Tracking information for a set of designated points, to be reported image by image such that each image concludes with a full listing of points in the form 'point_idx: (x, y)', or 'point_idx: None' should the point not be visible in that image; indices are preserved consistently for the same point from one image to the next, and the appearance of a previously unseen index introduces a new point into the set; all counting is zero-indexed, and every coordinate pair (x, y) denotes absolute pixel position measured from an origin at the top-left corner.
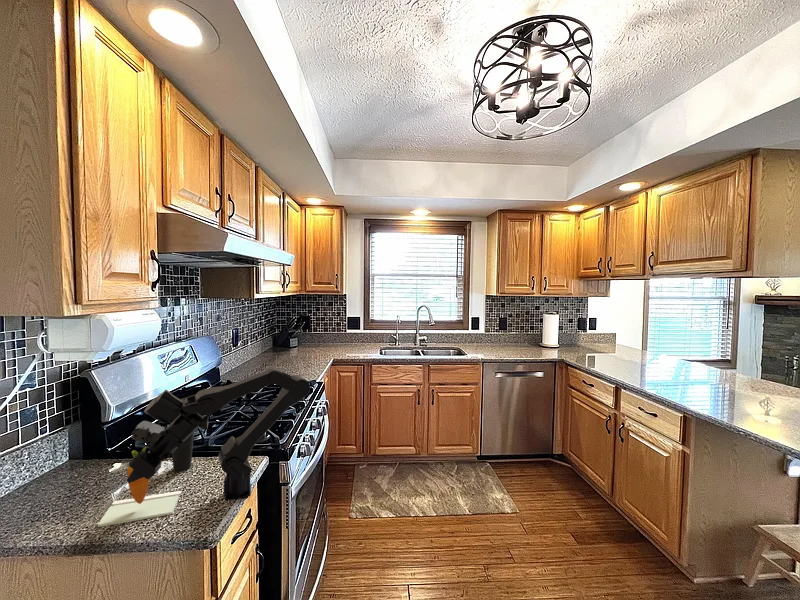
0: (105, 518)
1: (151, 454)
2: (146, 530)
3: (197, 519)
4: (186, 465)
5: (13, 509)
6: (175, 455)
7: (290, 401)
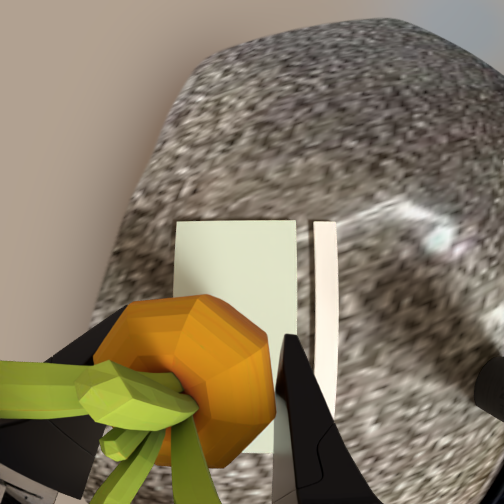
0: (208, 232)
1: (290, 499)
2: None
3: None
4: (485, 409)
5: (348, 26)
6: None
7: None
